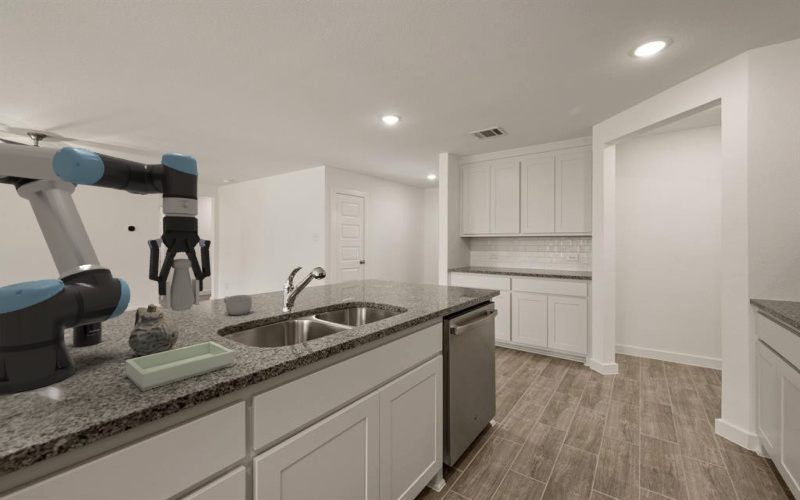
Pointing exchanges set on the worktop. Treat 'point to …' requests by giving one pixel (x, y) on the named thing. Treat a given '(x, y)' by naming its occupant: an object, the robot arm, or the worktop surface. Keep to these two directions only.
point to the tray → (178, 364)
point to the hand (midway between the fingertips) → (181, 305)
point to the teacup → (238, 304)
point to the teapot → (152, 332)
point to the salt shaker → (181, 286)
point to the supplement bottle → (87, 334)
